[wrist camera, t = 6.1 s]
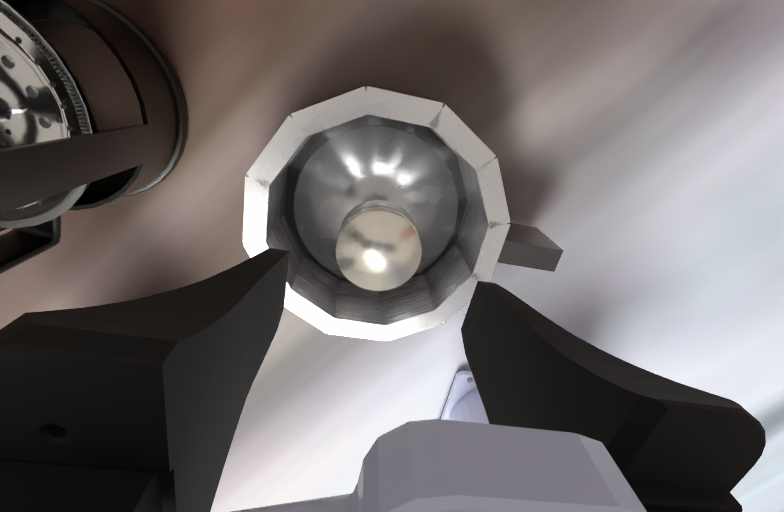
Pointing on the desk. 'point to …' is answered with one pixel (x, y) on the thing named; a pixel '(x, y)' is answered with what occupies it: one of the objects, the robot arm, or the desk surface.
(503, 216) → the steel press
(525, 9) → the desk surface
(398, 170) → the plunger
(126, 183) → the french press
